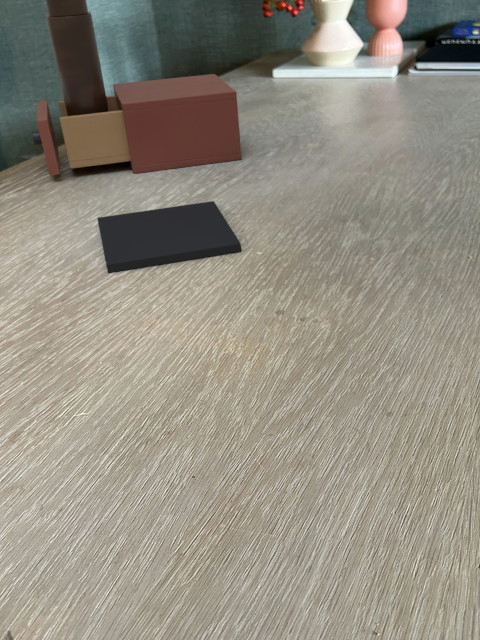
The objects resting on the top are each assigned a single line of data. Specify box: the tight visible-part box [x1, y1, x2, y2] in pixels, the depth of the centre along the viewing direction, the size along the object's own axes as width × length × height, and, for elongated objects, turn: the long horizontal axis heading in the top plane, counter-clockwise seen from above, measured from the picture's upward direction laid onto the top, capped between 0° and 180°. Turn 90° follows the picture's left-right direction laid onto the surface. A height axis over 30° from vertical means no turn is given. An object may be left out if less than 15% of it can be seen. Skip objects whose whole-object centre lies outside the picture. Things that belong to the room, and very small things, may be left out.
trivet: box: [97, 200, 242, 274], centre depth 64 cm, size 12×12×1 cm
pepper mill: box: [45, 0, 109, 116], centre depth 79 cm, size 5×5×20 cm
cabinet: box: [112, 73, 242, 175], centre depth 86 cm, size 14×13×8 cm
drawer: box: [31, 94, 131, 176], centre depth 84 cm, size 14×11×6 cm
